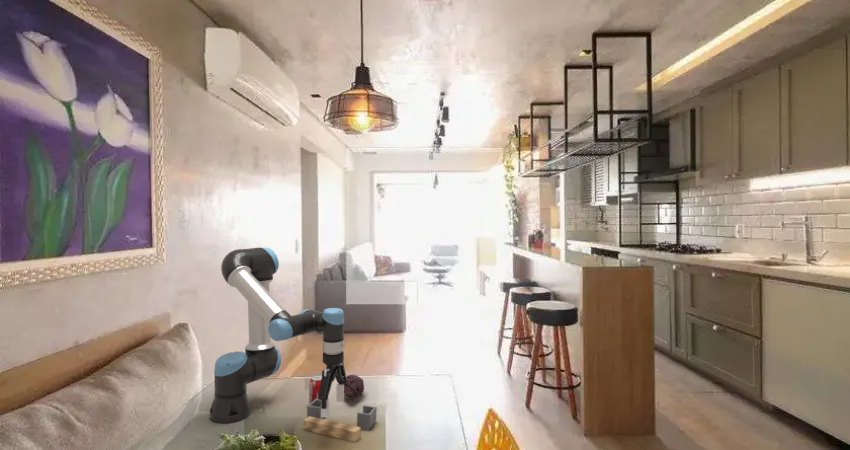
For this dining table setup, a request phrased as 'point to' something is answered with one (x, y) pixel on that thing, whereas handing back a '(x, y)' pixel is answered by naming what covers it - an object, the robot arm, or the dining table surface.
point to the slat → (332, 428)
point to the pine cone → (353, 386)
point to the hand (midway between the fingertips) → (332, 408)
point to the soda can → (314, 387)
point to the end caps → (363, 419)
